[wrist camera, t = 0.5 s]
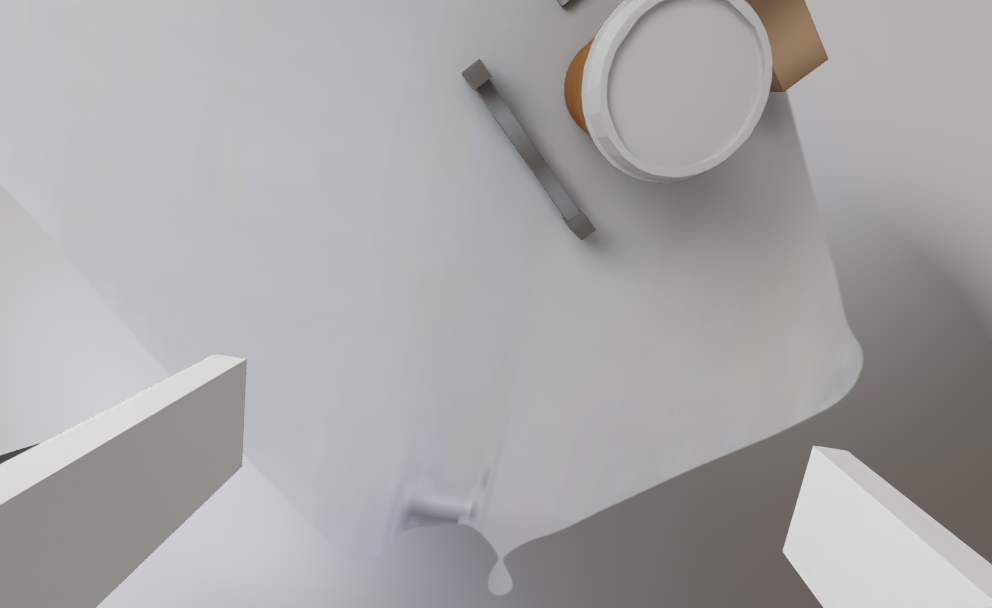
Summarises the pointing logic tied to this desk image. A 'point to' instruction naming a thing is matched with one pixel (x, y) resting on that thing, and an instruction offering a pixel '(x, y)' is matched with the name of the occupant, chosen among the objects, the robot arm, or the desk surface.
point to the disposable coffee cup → (671, 85)
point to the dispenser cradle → (791, 62)
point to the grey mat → (562, 2)
